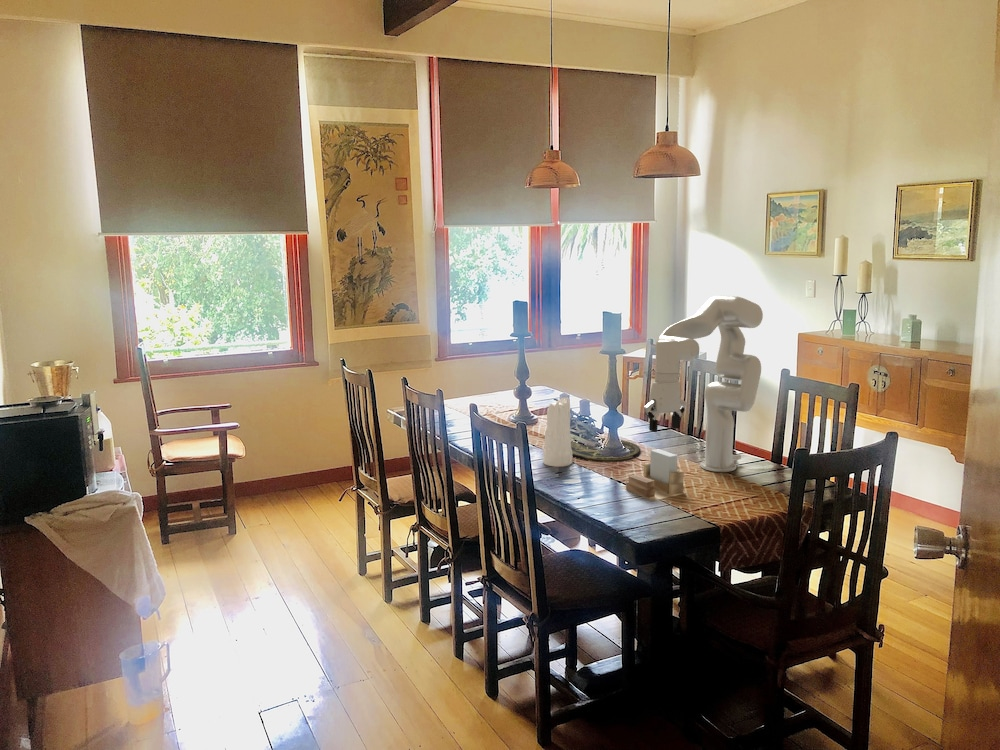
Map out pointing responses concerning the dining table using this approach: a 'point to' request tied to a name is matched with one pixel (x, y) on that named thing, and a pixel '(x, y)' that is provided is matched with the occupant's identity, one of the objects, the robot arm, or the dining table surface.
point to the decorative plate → (594, 455)
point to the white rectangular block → (662, 465)
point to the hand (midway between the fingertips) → (664, 429)
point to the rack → (665, 484)
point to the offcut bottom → (640, 491)
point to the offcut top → (641, 482)
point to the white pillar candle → (558, 435)
